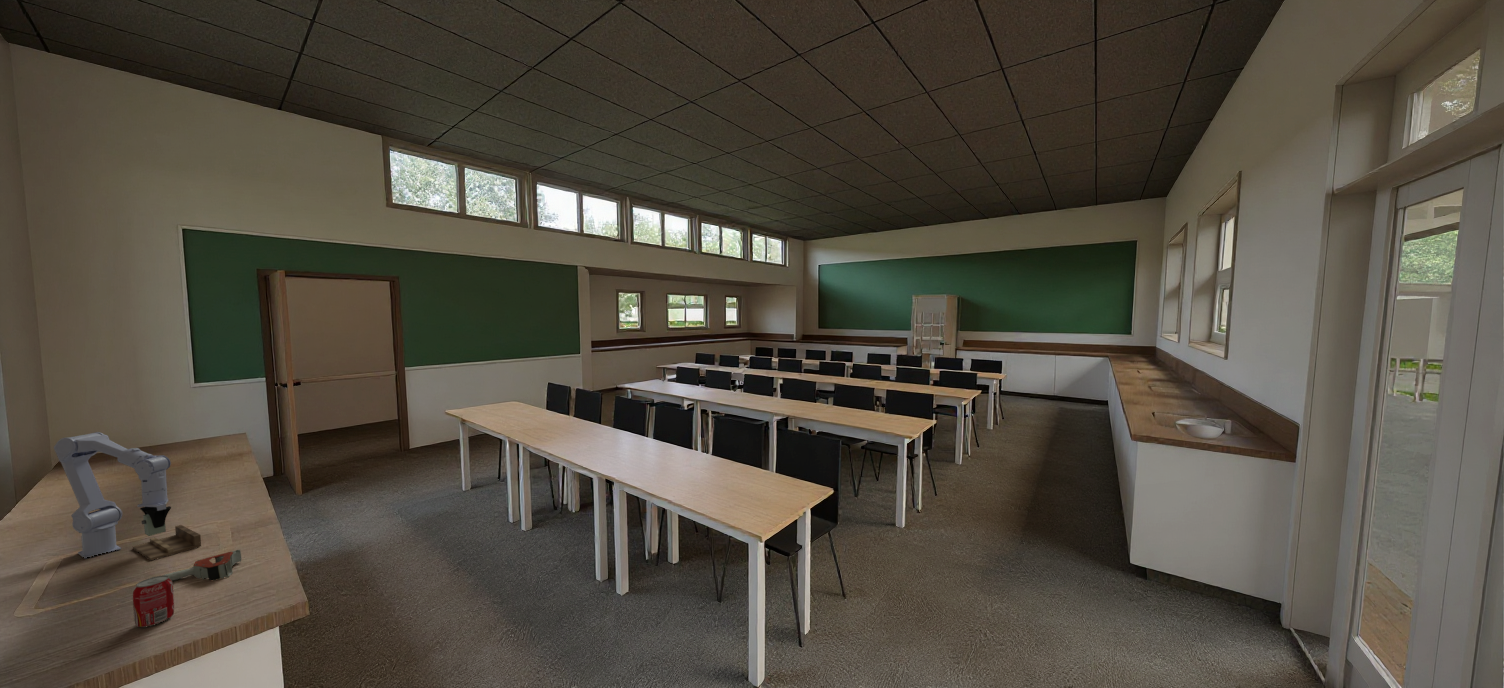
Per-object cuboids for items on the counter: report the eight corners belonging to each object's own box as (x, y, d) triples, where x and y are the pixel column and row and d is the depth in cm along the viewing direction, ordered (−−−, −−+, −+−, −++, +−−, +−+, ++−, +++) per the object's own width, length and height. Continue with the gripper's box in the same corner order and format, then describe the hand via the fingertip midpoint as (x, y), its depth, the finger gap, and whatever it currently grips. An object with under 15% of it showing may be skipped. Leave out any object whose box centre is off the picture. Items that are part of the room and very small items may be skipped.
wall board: (132, 549, 176) (131, 537, 175) (181, 535, 186) (181, 524, 186) (150, 560, 167) (150, 548, 167) (201, 546, 178) (200, 534, 177)
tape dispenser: (144, 592, 151) (197, 592, 148) (141, 576, 150) (194, 576, 148) (212, 562, 168) (261, 561, 166) (210, 548, 168) (258, 547, 165)
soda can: (156, 614, 136) (153, 574, 136) (182, 613, 137) (180, 573, 136) (125, 630, 129) (123, 588, 129) (154, 629, 130) (151, 587, 129)
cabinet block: (141, 534, 172) (139, 516, 172) (161, 529, 177) (160, 511, 176) (145, 537, 170) (143, 518, 170) (165, 531, 175) (164, 513, 174)
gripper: (130, 490, 173) (133, 526, 174) (143, 496, 167) (145, 533, 167) (160, 484, 179) (163, 518, 180) (174, 490, 173) (176, 526, 174)
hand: (156, 525), depth 174 cm, fingers closed on cabinet block, 4 cm apart
